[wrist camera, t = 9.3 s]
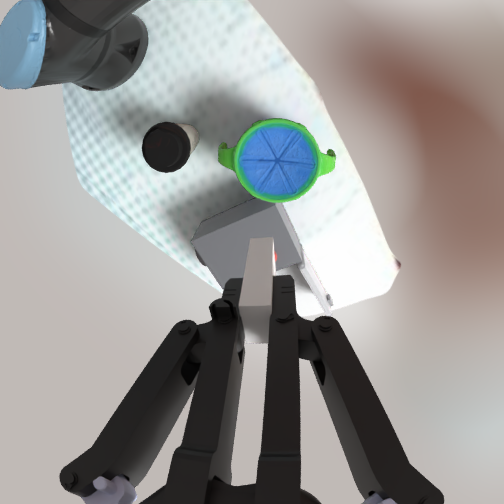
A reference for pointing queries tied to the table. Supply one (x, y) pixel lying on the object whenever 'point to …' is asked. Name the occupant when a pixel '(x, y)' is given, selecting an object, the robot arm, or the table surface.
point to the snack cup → (277, 160)
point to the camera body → (245, 238)
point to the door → (315, 283)
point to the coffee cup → (169, 145)
